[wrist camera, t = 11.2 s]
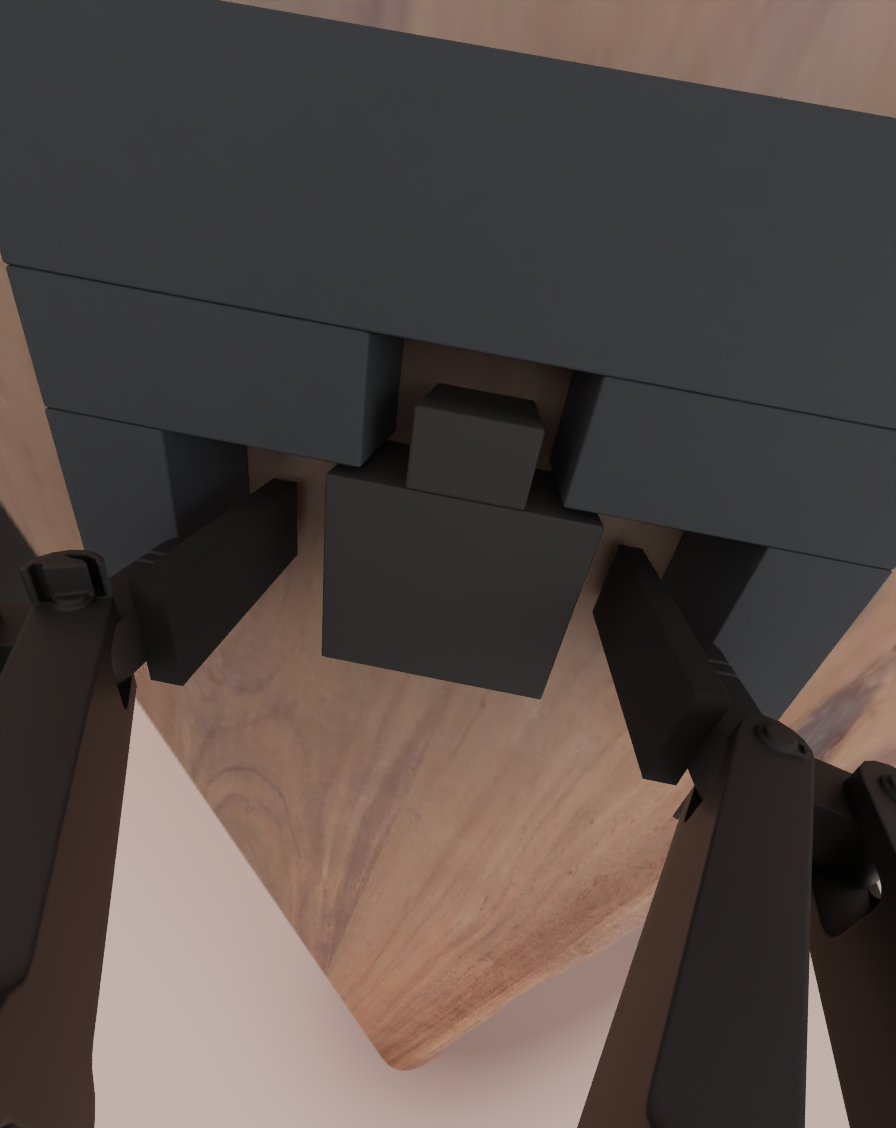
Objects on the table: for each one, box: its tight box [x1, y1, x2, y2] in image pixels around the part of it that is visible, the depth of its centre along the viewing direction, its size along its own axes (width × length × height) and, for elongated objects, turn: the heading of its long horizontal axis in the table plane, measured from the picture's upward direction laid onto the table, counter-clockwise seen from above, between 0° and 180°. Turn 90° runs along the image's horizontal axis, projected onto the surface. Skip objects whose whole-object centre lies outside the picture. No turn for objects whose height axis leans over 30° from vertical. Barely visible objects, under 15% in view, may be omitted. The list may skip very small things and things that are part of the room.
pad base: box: [0, 0, 896, 721], centre depth 12 cm, size 21×14×4 cm, turn 81°
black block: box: [322, 383, 604, 699], centre depth 14 cm, size 7×8×4 cm
